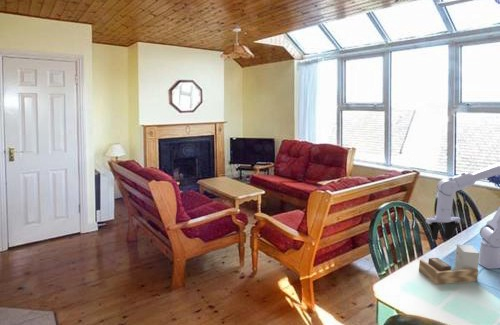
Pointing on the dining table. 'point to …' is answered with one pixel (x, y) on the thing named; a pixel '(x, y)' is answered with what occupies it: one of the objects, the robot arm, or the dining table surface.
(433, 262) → the brown rectangular block
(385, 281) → the dining table surface
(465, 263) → the small box
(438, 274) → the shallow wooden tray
